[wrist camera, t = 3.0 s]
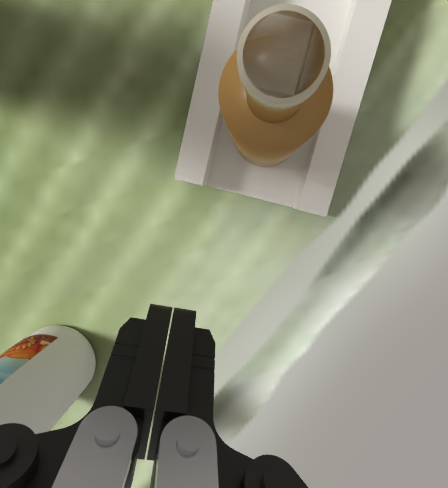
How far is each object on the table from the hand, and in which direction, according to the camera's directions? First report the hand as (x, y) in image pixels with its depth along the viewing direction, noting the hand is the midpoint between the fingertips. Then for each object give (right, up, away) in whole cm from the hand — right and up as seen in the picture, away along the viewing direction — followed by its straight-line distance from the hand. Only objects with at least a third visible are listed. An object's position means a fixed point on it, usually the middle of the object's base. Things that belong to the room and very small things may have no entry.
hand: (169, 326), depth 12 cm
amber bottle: (+5, +12, +19) cm, 23 cm away
